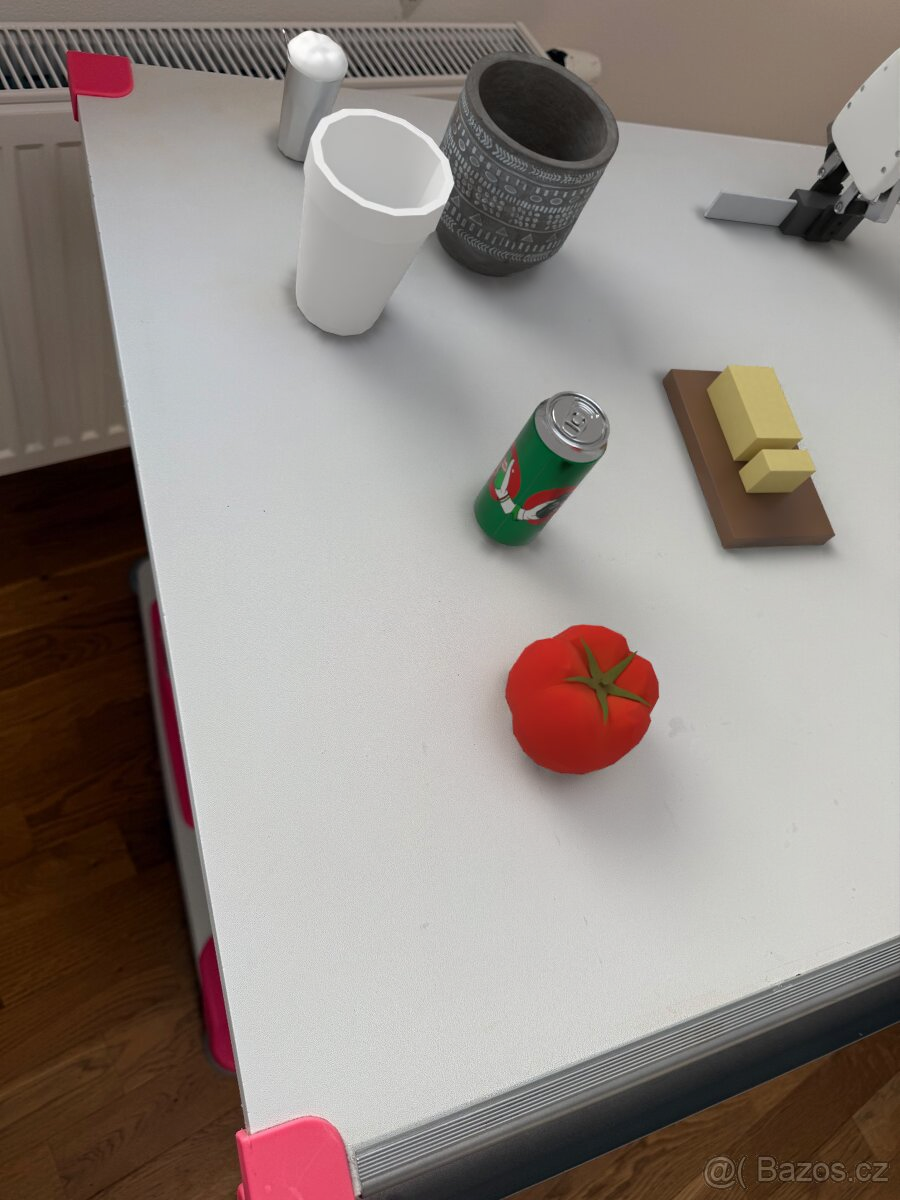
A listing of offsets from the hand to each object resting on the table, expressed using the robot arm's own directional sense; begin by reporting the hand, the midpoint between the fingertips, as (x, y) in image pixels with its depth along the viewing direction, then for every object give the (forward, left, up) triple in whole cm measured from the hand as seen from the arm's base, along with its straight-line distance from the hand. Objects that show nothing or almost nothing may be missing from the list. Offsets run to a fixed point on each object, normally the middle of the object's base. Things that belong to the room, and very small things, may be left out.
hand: (811, 225), depth 98 cm
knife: (+4, 0, 0) cm, 4 cm away
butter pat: (+20, +31, +1) cm, 37 cm away
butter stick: (+20, +26, +1) cm, 32 cm away
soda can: (+43, +33, -1) cm, 54 cm away
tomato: (+43, +48, -1) cm, 64 cm away
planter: (+38, +6, -1) cm, 38 cm away
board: (+20, +28, 0) cm, 34 cm away
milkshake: (+53, -2, -1) cm, 53 cm away
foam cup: (+52, +14, -1) cm, 54 cm away
